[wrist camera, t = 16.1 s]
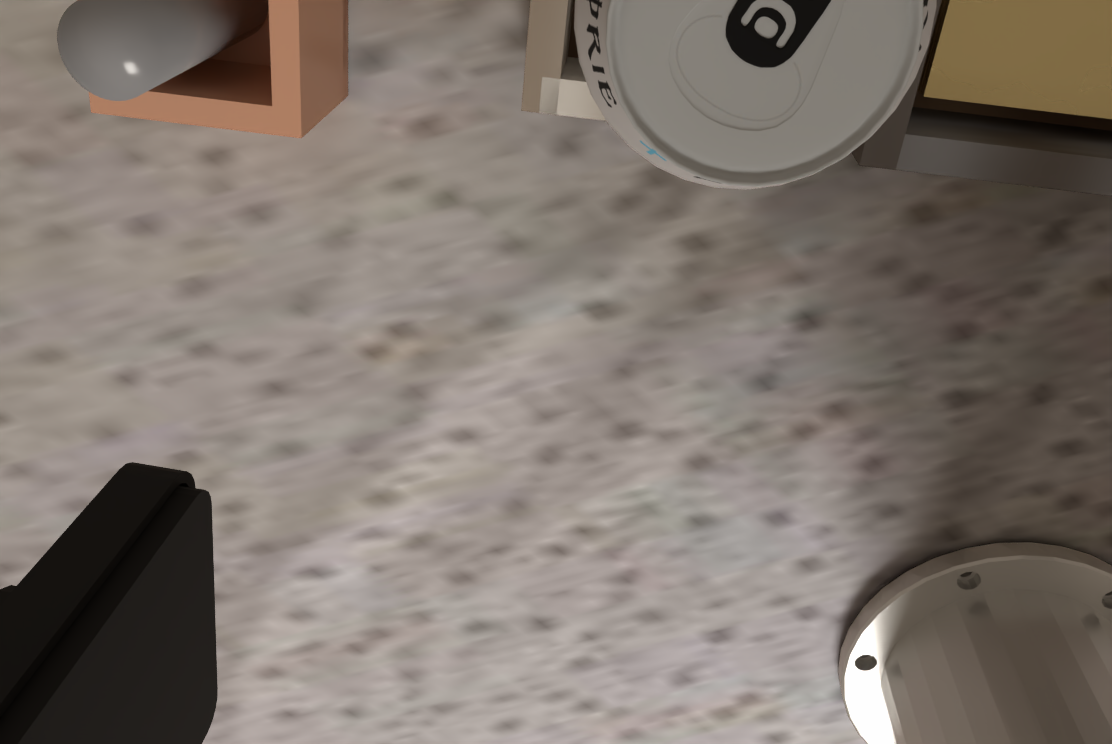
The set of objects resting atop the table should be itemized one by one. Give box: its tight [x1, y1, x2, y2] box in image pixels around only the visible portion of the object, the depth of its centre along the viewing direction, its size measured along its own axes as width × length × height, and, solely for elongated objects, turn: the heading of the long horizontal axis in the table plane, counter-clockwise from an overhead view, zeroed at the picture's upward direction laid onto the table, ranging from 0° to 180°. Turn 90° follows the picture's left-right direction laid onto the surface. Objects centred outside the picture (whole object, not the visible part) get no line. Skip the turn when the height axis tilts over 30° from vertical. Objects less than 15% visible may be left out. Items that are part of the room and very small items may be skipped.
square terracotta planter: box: [57, 0, 348, 138], centre depth 28 cm, size 6×6×9 cm
